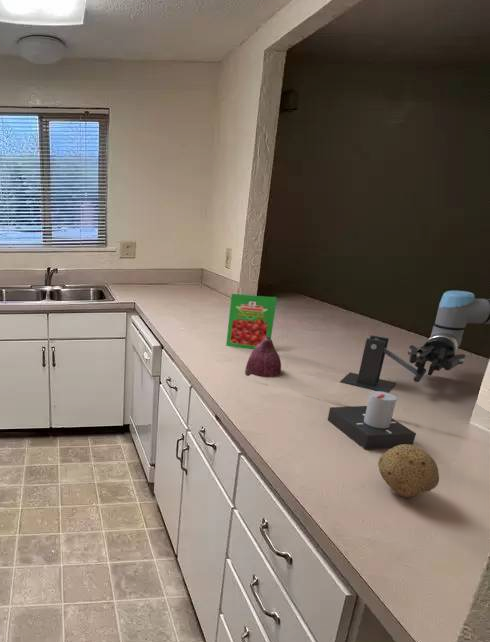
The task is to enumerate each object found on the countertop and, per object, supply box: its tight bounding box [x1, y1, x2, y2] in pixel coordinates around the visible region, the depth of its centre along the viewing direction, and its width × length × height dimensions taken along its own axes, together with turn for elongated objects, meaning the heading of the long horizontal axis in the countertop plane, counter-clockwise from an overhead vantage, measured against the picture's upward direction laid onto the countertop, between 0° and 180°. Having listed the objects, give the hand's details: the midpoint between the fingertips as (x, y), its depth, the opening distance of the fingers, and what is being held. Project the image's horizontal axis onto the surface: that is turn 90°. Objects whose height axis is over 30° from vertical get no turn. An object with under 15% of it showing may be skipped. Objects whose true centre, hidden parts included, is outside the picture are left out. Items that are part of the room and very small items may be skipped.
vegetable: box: [244, 336, 282, 378], centre depth 134 cm, size 10×10×15 cm
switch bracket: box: [339, 334, 396, 393], centre depth 125 cm, size 12×10×15 cm
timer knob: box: [364, 390, 398, 429], centre depth 98 cm, size 5×5×7 cm
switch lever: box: [375, 338, 427, 383], centre depth 120 cm, size 15×9×2 cm, turn 45°
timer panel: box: [327, 405, 417, 450], centre depth 102 cm, size 14×11×4 cm
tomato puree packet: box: [225, 293, 278, 350], centre depth 159 cm, size 15×1×20 cm, turn 62°
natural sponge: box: [377, 444, 440, 498], centre depth 79 cm, size 9×9×10 cm
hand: (425, 369), depth 115 cm, fingers closed
